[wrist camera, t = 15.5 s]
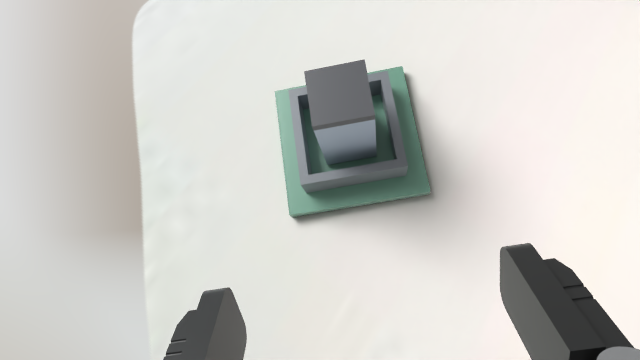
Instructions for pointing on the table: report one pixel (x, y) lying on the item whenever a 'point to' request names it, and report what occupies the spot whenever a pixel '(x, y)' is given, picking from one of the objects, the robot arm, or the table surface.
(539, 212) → the table surface
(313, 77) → the block
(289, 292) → the table surface
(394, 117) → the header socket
